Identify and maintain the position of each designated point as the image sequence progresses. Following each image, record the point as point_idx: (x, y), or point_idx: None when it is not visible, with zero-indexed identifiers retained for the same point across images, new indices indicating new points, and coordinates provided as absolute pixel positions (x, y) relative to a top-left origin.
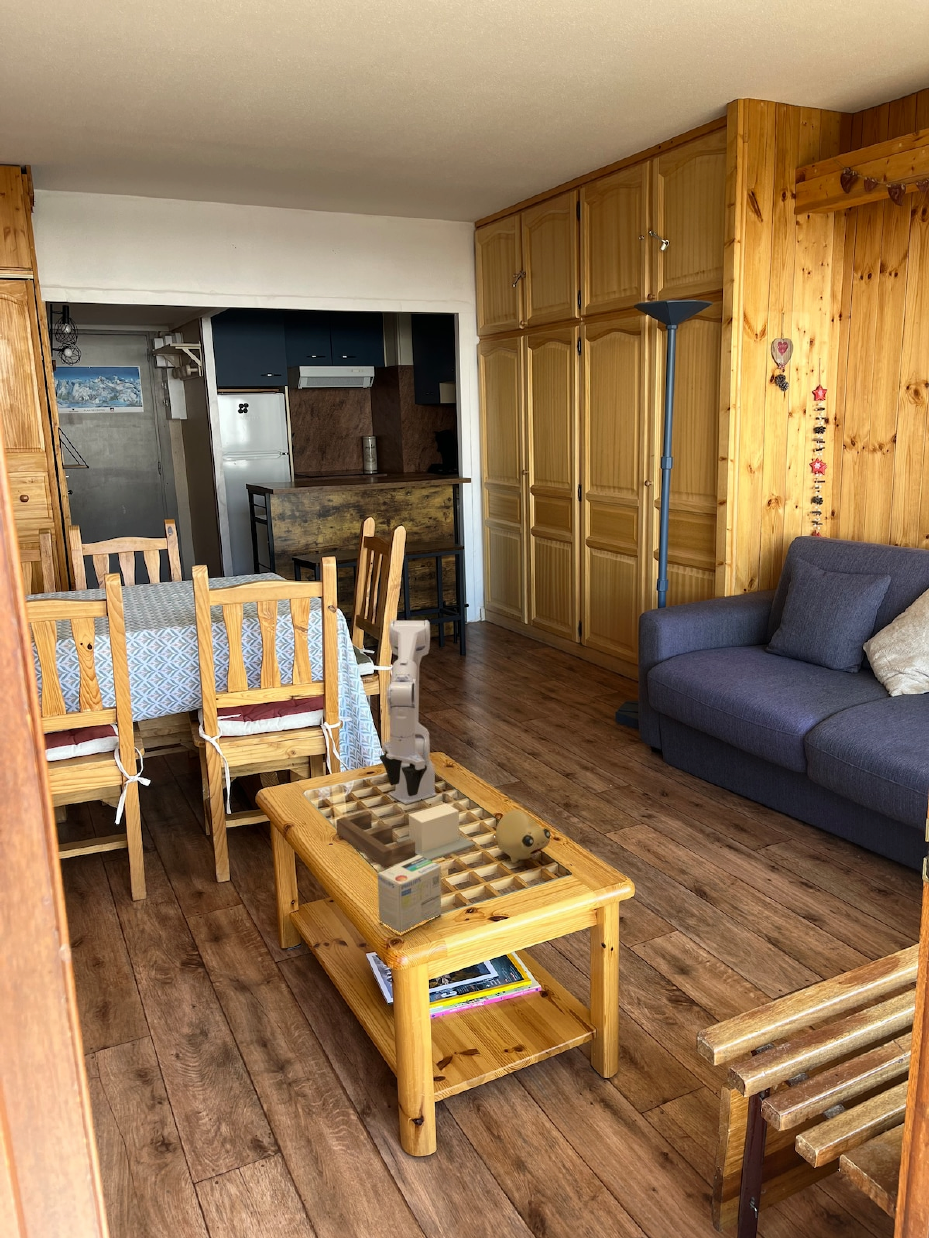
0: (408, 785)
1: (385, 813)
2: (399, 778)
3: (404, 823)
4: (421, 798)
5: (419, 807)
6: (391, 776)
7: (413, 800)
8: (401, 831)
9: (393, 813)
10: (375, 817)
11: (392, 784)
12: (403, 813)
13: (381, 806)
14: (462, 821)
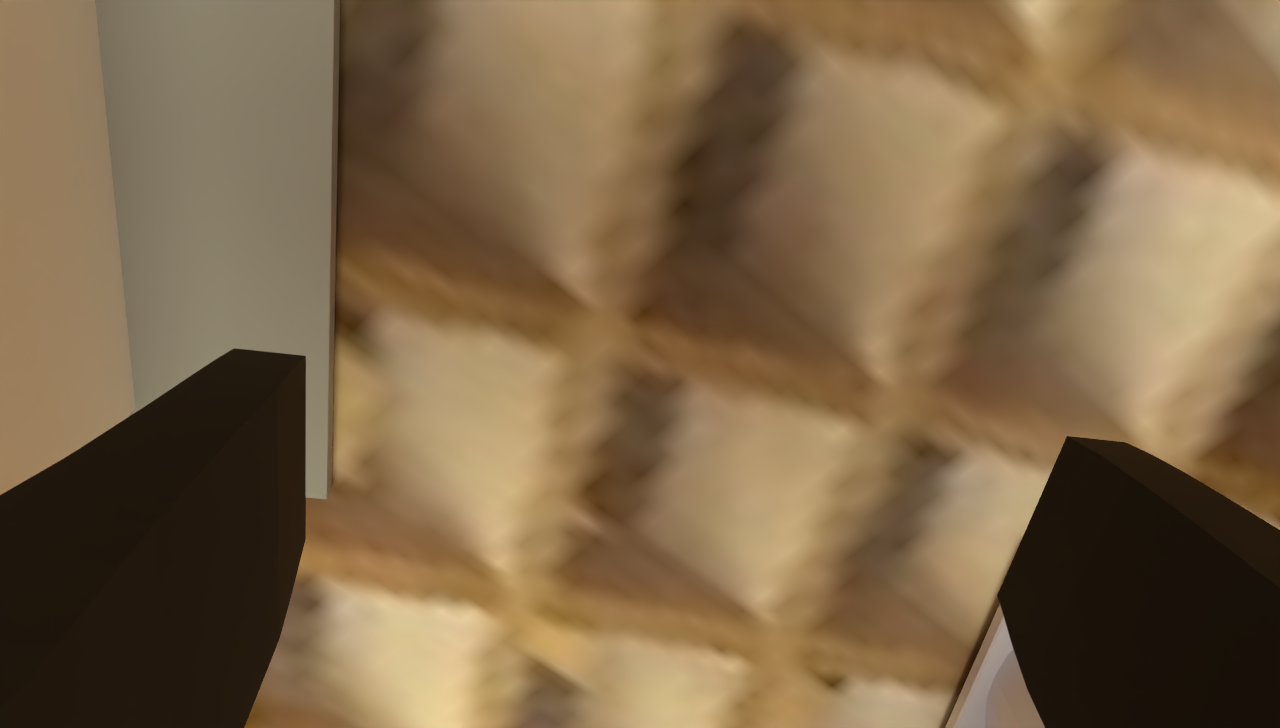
0: (14, 495)
1: (1093, 261)
2: (1035, 697)
3: (714, 243)
4: (966, 696)
5: (871, 586)
6: (1199, 606)
7: (1004, 627)
8: (567, 63)
9: (1010, 325)
10: (1134, 99)
11: (1065, 470)
12: (912, 399)
13: (1248, 346)
14: (306, 664)
